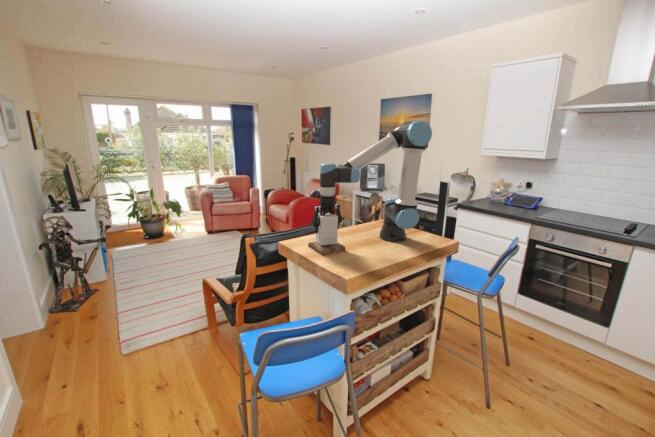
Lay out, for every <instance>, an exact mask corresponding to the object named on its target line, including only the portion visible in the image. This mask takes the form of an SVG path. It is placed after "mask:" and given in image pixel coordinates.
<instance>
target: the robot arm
mask: <svg viewBox="0 0 655 437" xmlns="http://www.w3.org/2000/svg"><path fill="white" fill-rule="evenodd" d="M432 131H433V130H432V126H430V125H429V123H428V122H426V121H424V120H409V121H404V122H403V123H401V124H399V125H397V126H396V127H395V128H394V129H392V130H390V131H389V132H387V134H386V136H384V137H383V138H381V139H380V140H378V141H377V142H375V143H374V144H372V145H371V146H369V147H367V148H366V149H363V150H362V151H361V152H359V153H358V154H356V155H355V156H353V157H351V158H349V159H348V160H346V161H345V162H343V163H339V164H337V165H336V163H332V162H331V163H329V162H326V163H325V162H324V163H321V164H320V172H319V194H320V195H319V203H320V204H319V205H318V206H315V205H314V211H313V216H312V219H311V224H310V225H311V226H312V227H314V233H315V239H316V238H317V239H318V240H320V227H319V225H320V217H319V216H318V214H319V213H320V214H319V215H320V216H324V215H325V214H327V213H331V214H336V215H337V216H338V230H340V228H339V225H341V223H342V222H343V218H342V215H341V208H340V206H341V204H338V203H335V202H336V184H356V183H359V182H360V179H361V171H360V170H362V169H363V168H364V167H367V166H368V165H369V164H371V163H373V162H374V161H376V160H378V159H379V158H381V157H383V156H384V155H386V154H387V153H389V152H390V151H392V150H394V149H399V148H401V150H402V151H403V159H402V167H401V168H402V169H401V172H400V173H401V175H400V182H399V190H398V198H394V197H393V198H386V199H385V200H384V204H383V205H384V208H383V224H382V226H381V229H380V232H379V238H380V239H381V240H384V241H388V242H394V243H395V242H397V243H398V242H403V241H405V240H406V239H407V233H406V230H410V229H412V228H414V227H415V226H417V225H418V223H419V221H420V214H419V212H418V210H417V209H418V202H417V201H416V196H417V188H418V183H419V176H420V169H421V162H422V156H423V155H422V154H423V153H424V152H425V151H426V149H427V145H428V143H429V142H430V141H431V139H432V137H433V132H432Z"/></svg>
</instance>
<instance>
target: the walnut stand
mask: <svg viewBox="0 0 655 437" xmlns="http://www.w3.org/2000/svg"><path fill="white" fill-rule="evenodd" d="M307 247H309V248H310V249H311V250H313V251H314V252H316V253H317V254H319V255H320V256H326V255H329V254H334V253H338V252H342V251H343V252H344V251H346V246H345V245H344V244H341V243H340V242H338V241H337V244H330V245H320V244H319V242H318V241H317V240H316V241H311V242H308V243H307Z"/></svg>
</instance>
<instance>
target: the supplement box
mask: <svg viewBox="0 0 655 437" xmlns="http://www.w3.org/2000/svg"><path fill="white" fill-rule="evenodd" d="M319 214H320V212H319ZM319 214H318V216H319V217H320V225H319V227H320V240H318V239H317V238H316V237H315V239H316V241H318V242H319V244H320V245H330V244H337V242H338V230H339V229H338V228H339V227H338V216H337V215H336V213H335V214H331V213H327V214H325V215H324V216H320V215H319Z"/></svg>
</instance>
